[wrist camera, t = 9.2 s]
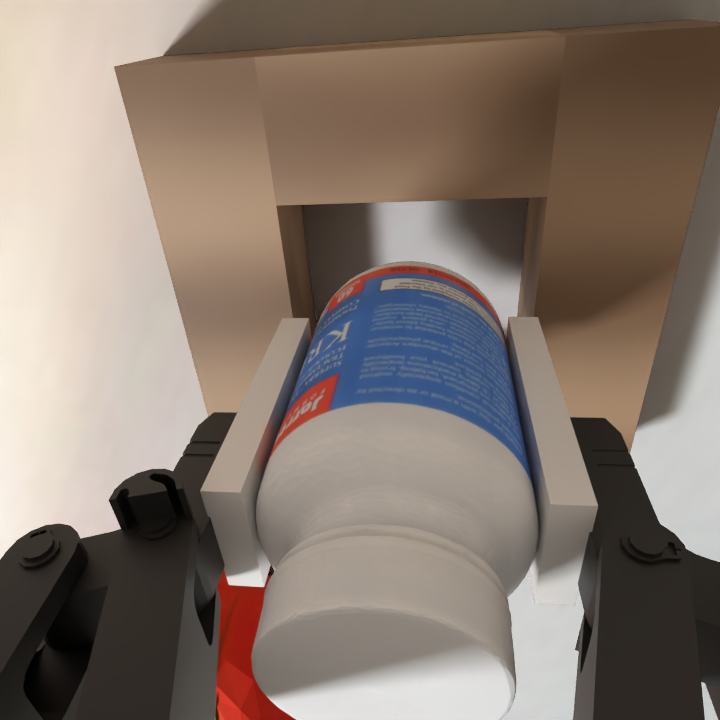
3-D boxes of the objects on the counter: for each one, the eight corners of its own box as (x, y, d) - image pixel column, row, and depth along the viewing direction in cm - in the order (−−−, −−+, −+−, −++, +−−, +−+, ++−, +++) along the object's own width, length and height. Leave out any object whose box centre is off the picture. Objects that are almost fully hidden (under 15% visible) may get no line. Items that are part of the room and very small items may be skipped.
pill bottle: (333, 235, 15) (211, 524, 7) (530, 280, 15) (647, 619, 7) (305, 396, 18) (197, 730, 10) (469, 432, 18) (499, 794, 10)
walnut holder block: (598, 444, 23) (618, 498, 21) (247, 435, 25) (226, 484, 23) (689, 19, 15) (740, 24, 13) (161, 56, 17) (114, 66, 14)
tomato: (106, 602, 34) (19, 763, 27) (188, 490, 28) (102, 662, 20) (285, 683, 37) (249, 848, 30) (396, 598, 30) (385, 782, 23)
